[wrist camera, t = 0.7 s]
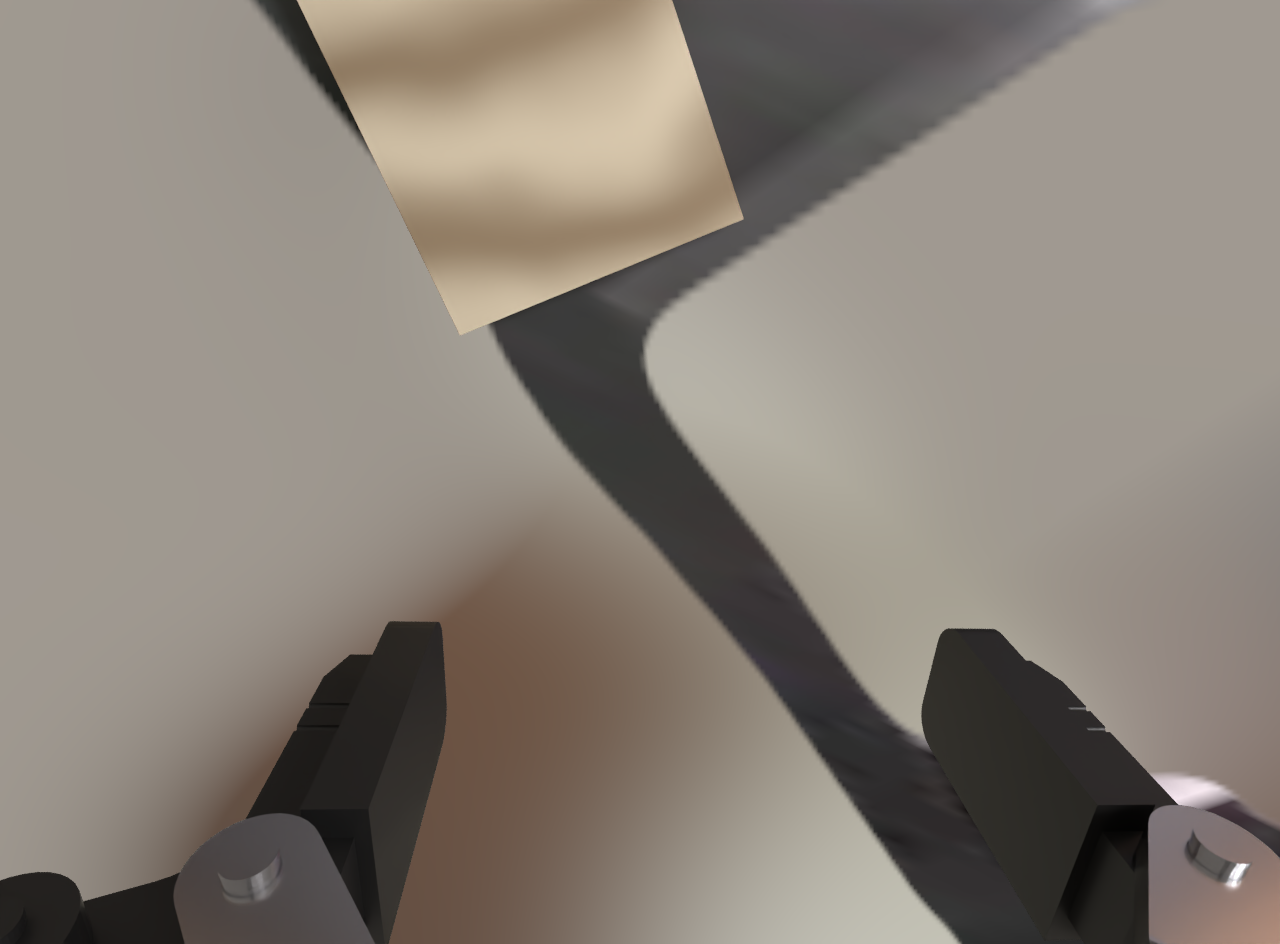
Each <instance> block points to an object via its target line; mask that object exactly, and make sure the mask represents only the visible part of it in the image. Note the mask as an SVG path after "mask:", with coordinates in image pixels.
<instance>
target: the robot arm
mask: <svg viewBox="0 0 1280 944" xmlns="http://www.w3.org/2000/svg"><path fill="white" fill-rule="evenodd" d="M446 705H447V704H446V686H445V670H444V653H443V638H442V628H441V625H440V623H439V622H398V621H397V622H396V621H394V622H393V621H392V622H389V623H388V624H387V626H386V627H385V630H384V632H383V634H382V636H381V638H380V640H379V642H378V645H377V647H376V649H375V651H374V653H373V655H349V656H348V657H347V658H346V659H344V660H343V661H342V662H341V663H340V664H339V665H337V666H336V667H335V668H334V669H333V670H331V671H330V672H329V673H328V674H327V675H325V676H324V677H323V679H322V681H321V683H320V685H319V686H318V688H317V690H316V692H315V694H314V695H313V697H312V699H311V701H310V703H309V708H308V709H306V710H305V712H304V714H303V716H302V717H301V719H300V721H299V723H298V725H297V730H296V731H294V732H293V734H292V736H291V738H290V739H289V741H288V743H287V745H286V747H285V748H284V750H283V752H282V754H281V756H280V758H279V759H278V761H277V763H276V765H275V767H274V768H273V770H272V772H271V774H270V776H269V778H268V779H267V781H266V783H265V785H264V787H263V788H262V790H261V792H260V794H259V796H258V798H257V799H256V801H255V803H254V805H253V807H252V809H251V810H250V812H249V814H248V816H247V818H246V819H245V820H243V821H240V822H238V823H235V824H233V825H231V826H230V827H228V828H226V829H224V830H222V831H221V832H219V833H217V834H216V835H214V836H213V837H211V838H210V839H209V840H208V841H206V842H205V843H204V844H203V845H201V846H200V847H199V848H198V849H197V851H196V852H195V853H194V854H193V855H192V856H191V857H190V858H189V860H188V861H187V862H186V864H185V865H184V867H183V868H182V870H181V872H180V873H178V874H175V875H173V876H171V877H168V878H165V879H162V880H159V881H155V882H152V883H149V884H145V885H141V886H138V887H134V888H130V889H127V890H123V891H120V892H116V893H112V894H109V895H105V896H101V897H98V898H95V899H91V900H87V901H83V900H82V897H81V894H80V891H79V889H78V888H77V886H76V884H75V883H74V882H73V881H72V880H70V879H69V878H68V877H65V876H63V875H61V874H56V873H50V872H35V873H28V874H22V875H18V876H14V877H9V878H7V879H3V880H1V881H0V944H388V943H389V940H390V936H391V932H392V929H393V925H394V922H395V918H396V914H397V910H398V907H399V903H400V899H401V896H402V892H403V888H404V885H405V881H406V877H407V873H408V870H409V866H410V862H411V858H412V855H413V851H414V848H415V844H416V840H417V837H418V833H419V829H420V826H421V822H422V818H423V814H424V810H425V807H426V803H427V800H428V796H429V792H430V788H431V785H432V781H433V778H434V774H435V770H436V766H437V763H438V759H439V755H440V751H441V748H442V744H443V739H444V733H445V725H446V710H447V709H446V708H447V707H446ZM922 726H923V731H924V735H925V738H926V741H927V743H928V745H929V747H930V749H931V750H932V752H933V754H934V755H935V757H936V759H937V760H938V762H939V764H940V766H941V767H942V769H943V771H944V772H945V774H946V776H947V777H948V779H949V781H950V782H951V784H952V786H953V787H954V789H955V791H956V792H957V794H958V796H959V798H960V799H961V801H962V803H963V804H964V806H965V808H966V809H967V811H968V813H969V814H970V816H971V818H972V819H973V821H974V823H975V824H976V826H977V828H978V829H979V831H980V833H981V835H982V836H983V838H984V840H985V841H986V843H987V845H988V846H989V848H990V850H991V851H992V853H993V855H994V856H995V858H996V860H997V861H998V863H999V865H1000V867H1001V868H1002V870H1003V872H1004V873H1005V875H1006V877H1007V878H1008V880H1009V882H1010V883H1011V885H1012V887H1013V888H1014V890H1015V892H1016V893H1017V895H1018V897H1019V899H1020V900H1021V902H1022V904H1023V905H1024V907H1025V909H1026V910H1027V912H1028V914H1029V915H1030V917H1031V919H1032V920H1033V922H1034V924H1035V925H1036V927H1037V929H1038V930H1039V932H1040V934H1041V936H1042V937H1043V939H1044V941H1049V940H1082V941H1083V942H1084V944H1280V858H1279V857H1278V856H1277V855H1276V854H1275V853H1274V852H1273V851H1272V850H1271V849H1270V848H1269V847H1267V846H1266V845H1265V844H1264V843H1263V842H1262V841H1260V840H1259V839H1258V838H1256V837H1255V836H1253V835H1252V834H1251V833H1249V832H1248V831H1246V830H1244V829H1243V828H1241V827H1240V826H1238V825H1236V824H1234V823H1232V822H1230V821H1229V820H1227V819H1225V818H1222V817H1220V816H1218V815H1215V814H1213V813H1210V812H1207V811H1204V810H1201V809H1197V808H1194V807H1189V806H1182V805H1178V804H1177V803H1176V802H1175V801H1174V800H1173V799H1172V798H1171V797H1170V796H1169V794H1168V793H1167V792H1166V791H1165V790H1164V789H1163V788H1162V787H1161V786H1160V785H1159V784H1158V783H1157V782H1156V781H1155V780H1154V779H1153V777H1152V776H1151V775H1150V774H1149V773H1148V772H1147V771H1146V770H1145V769H1144V768H1143V767H1142V766H1141V765H1140V764H1139V763H1138V762H1137V760H1136V759H1135V758H1134V757H1132V755H1131V754H1130V753H1129V752H1128V751H1127V750H1126V749H1125V748H1124V747H1123V745H1122V744H1121V743H1120V742H1119V741H1118V740H1117V739H1116V738H1115V737H1114V736H1113V735H1112V734H1111V733H1110V732H1106V731H1105V726H1104V725H1103V724H1102V723H1101V722H1100V721H1099V720H1098V719H1097V718H1096V717H1095V716H1094V715H1093V714H1092V713H1091V711H1086V706H1085V705H1084V704H1083V703H1082V702H1081V701H1080V700H1079V699H1078V698H1077V696H1076V695H1075V694H1074V693H1073V692H1072V691H1071V690H1070V689H1069V688H1068V687H1067V686H1066V685H1065V684H1064V683H1063V682H1062V681H1061V680H1059V679H1058V678H1056V677H1054V676H1053V675H1052V674H1050V673H1049V672H1047V671H1045V670H1044V669H1042V668H1041V667H1039V666H1038V665H1036V664H1035V663H1033V662H1032V661H1026V660H1025V659H1024V658H1023V657H1022V656H1021V655H1020V654H1019V653H1018V652H1017V650H1016V649H1015V648H1014V647H1013V646H1012V645H1011V644H1010V643H1009V642H1008V640H1007V639H1006V638H1005V637H1004V636H1003V635H1002V634H1001V633H1000V632H998V631H997V630H995V629H946V630H944V631H943V632H942V634H941V635H940V637H939V640H938V644H937V648H936V652H935V656H934V660H933V664H932V668H931V672H930V676H929V680H928V684H927V688H926V692H925V696H924V700H923V704H922Z"/></svg>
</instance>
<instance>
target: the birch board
mask: <svg viewBox="0 0 1280 944" xmlns="http://www.w3.org/2000/svg"><path fill="white" fill-rule="evenodd" d="M297 2H298V4H299V6H300V8H301V10H302V12H303V14H304V16H305V18H306V20H307V22H308V24H309V26H310V28H311V30H312V32H313V34H314V37H315V39H316V41H317V43H318V45H319V47H320V49H321V51H322V53H323V55H324V57H325V59H326V61H327V63H328V65H329V67H330V69H331V71H332V74H333V76H334V78H335V80H336V82H337V84H338V86H339V88H340V90H341V92H342V94H343V96H344V98H345V100H346V102H347V104H348V106H349V108H350V111H351V113H352V115H353V117H354V119H355V121H356V123H357V125H358V127H359V129H360V131H361V133H362V135H363V137H364V139H365V141H366V143H367V145H368V148H369V150H370V152H371V154H372V156H373V158H374V160H375V162H376V164H377V166H378V168H379V170H380V172H381V174H382V176H383V178H384V180H385V182H386V185H387V187H388V189H389V190H390V193H391V195H392V197H393V199H394V201H395V203H396V205H397V207H398V209H399V211H400V213H401V215H402V217H403V219H404V221H405V223H406V226H407V228H408V230H409V232H410V234H411V236H412V238H413V240H414V242H415V244H416V246H417V248H418V250H419V252H420V254H421V256H422V259H423V261H424V263H425V265H426V267H427V269H428V271H429V273H430V275H431V277H432V279H433V281H434V283H435V285H436V287H437V289H438V291H439V293H440V296H441V297H442V299H443V302H444V303H445V306H446V308H447V310H448V312H449V314H450V316H451V318H452V320H453V322H454V324H455V326H456V328H457V330H458V333H459V335H462V334H465V333H467V332H470V331H472V330H474V329H477V328H479V327H482V326H485V325H487V324H489V323H492V322H494V321H497V320H499V319H502V318H504V317H506V316H509V315H511V314H514V313H516V312H519V311H521V310H523V309H526V308H528V307H531V306H533V305H536V304H538V303H541V302H543V301H545V300H548V299H550V298H553V297H555V296H558V295H560V294H562V293H565V292H567V291H570V290H572V289H575V288H577V287H579V286H582V285H584V284H587V283H589V282H592V281H594V280H597V279H599V278H601V277H604V276H606V275H609V274H611V273H614V272H616V271H618V270H621V269H623V268H626V267H628V266H631V265H633V264H635V263H638V262H640V261H643V260H645V259H648V258H650V257H653V256H655V255H657V254H660V253H662V252H665V251H667V250H670V249H672V248H674V247H677V246H679V245H682V244H684V243H687V242H689V241H691V240H694V239H696V238H699V237H701V236H704V235H706V234H708V233H711V232H713V231H716V230H718V229H721V228H723V227H726V226H728V225H730V224H733V223H735V222H738V221H740V220H743V219H744V218H743V215H742V212H741V209H740V206H739V203H738V200H737V197H736V194H735V191H734V188H733V185H732V182H731V179H730V176H729V173H728V170H727V167H726V163H725V160H724V157H723V154H722V151H721V148H720V145H719V142H718V139H717V136H716V133H715V130H714V127H713V124H712V121H711V118H710V115H709V112H708V109H707V105H706V102H705V99H704V96H703V93H702V90H701V87H700V84H699V81H698V78H697V75H696V72H695V69H694V66H693V63H692V60H691V57H690V54H689V50H688V47H687V44H686V41H685V38H684V35H683V32H682V29H681V26H680V23H679V20H678V17H677V14H676V11H675V8H674V5H673V2H672V0H297Z"/></svg>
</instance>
